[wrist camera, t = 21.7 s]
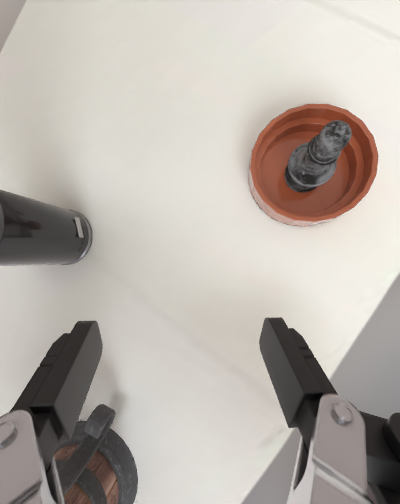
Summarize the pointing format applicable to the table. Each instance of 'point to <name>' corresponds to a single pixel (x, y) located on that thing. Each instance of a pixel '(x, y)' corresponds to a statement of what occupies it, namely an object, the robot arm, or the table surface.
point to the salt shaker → (317, 157)
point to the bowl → (323, 196)
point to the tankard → (96, 463)
